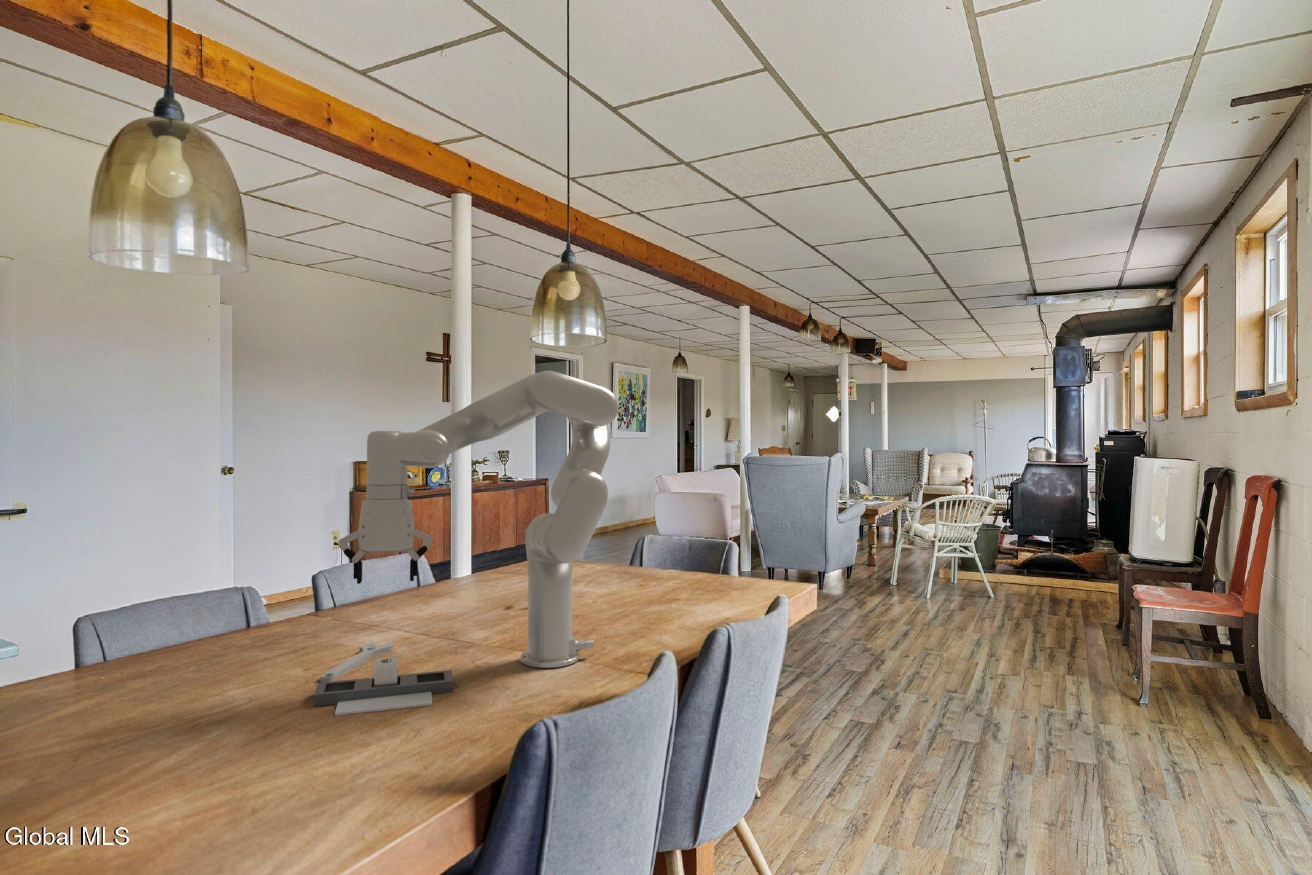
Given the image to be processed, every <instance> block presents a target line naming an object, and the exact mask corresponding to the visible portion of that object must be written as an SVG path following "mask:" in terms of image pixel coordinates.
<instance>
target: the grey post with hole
mask: <svg viewBox="0 0 1312 875" xmlns="http://www.w3.org/2000/svg"><path fill="white" fill-rule="evenodd" d="M398 663H399V658H398V656H394V657H382V658H375V659H374V665H373V668H374V674H373V675H374V677H373V678H374V687H382V686H392V685H398V675H399V674H398V671H399V669H398V668H399V664H398Z"/></svg>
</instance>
